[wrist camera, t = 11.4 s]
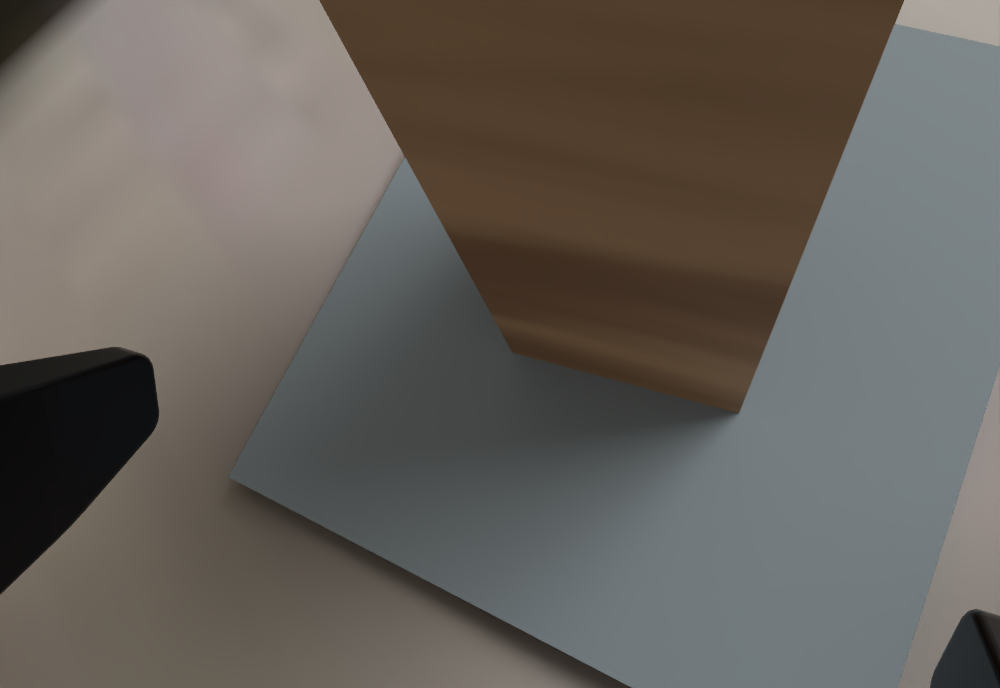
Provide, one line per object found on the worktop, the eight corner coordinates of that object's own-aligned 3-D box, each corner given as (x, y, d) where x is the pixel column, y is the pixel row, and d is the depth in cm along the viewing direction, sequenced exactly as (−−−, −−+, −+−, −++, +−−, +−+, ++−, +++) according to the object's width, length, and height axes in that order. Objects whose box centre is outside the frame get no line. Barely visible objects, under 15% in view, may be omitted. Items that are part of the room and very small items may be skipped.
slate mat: (851, 798, 14) (859, 806, 13) (240, 481, 18) (228, 476, 17) (1080, 84, 17) (1094, 66, 17) (525, -39, 22) (522, -56, 21)
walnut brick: (738, 413, 16) (1000, -245, 4) (512, 352, 17) (172, -269, 5) (792, 203, 17) (1117, -787, 5) (577, 162, 18) (429, -689, 6)
